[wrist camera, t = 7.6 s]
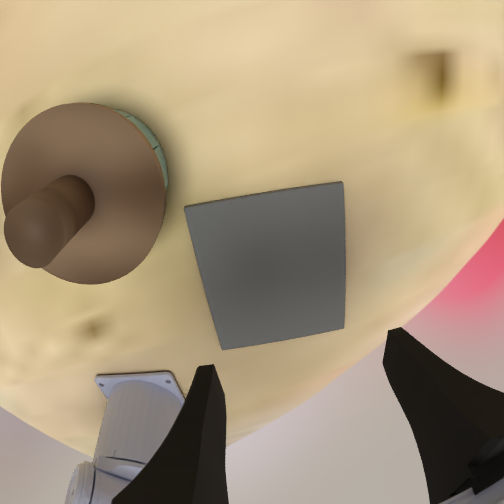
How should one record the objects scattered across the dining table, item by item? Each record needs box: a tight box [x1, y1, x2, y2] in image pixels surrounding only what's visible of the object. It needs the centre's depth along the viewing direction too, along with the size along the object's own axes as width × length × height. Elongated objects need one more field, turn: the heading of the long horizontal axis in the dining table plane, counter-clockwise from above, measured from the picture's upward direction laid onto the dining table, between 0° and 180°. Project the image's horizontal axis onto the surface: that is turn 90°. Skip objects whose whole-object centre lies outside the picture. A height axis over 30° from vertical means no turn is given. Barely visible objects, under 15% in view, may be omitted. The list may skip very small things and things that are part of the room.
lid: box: [1, 103, 166, 285], centre depth 13 cm, size 10×10×5 cm
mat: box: [184, 181, 346, 350], centre depth 22 cm, size 12×10×1 cm
